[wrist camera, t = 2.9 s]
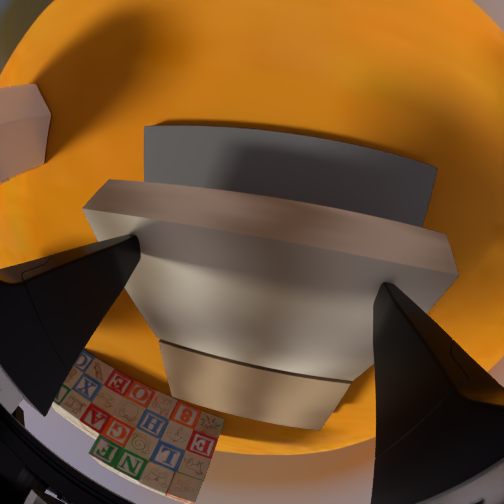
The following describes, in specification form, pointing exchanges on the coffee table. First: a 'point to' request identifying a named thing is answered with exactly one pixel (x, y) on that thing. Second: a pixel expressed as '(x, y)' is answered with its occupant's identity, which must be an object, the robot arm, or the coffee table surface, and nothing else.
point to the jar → (22, 130)
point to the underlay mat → (290, 169)
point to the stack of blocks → (139, 429)
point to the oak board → (250, 388)
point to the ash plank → (267, 272)
